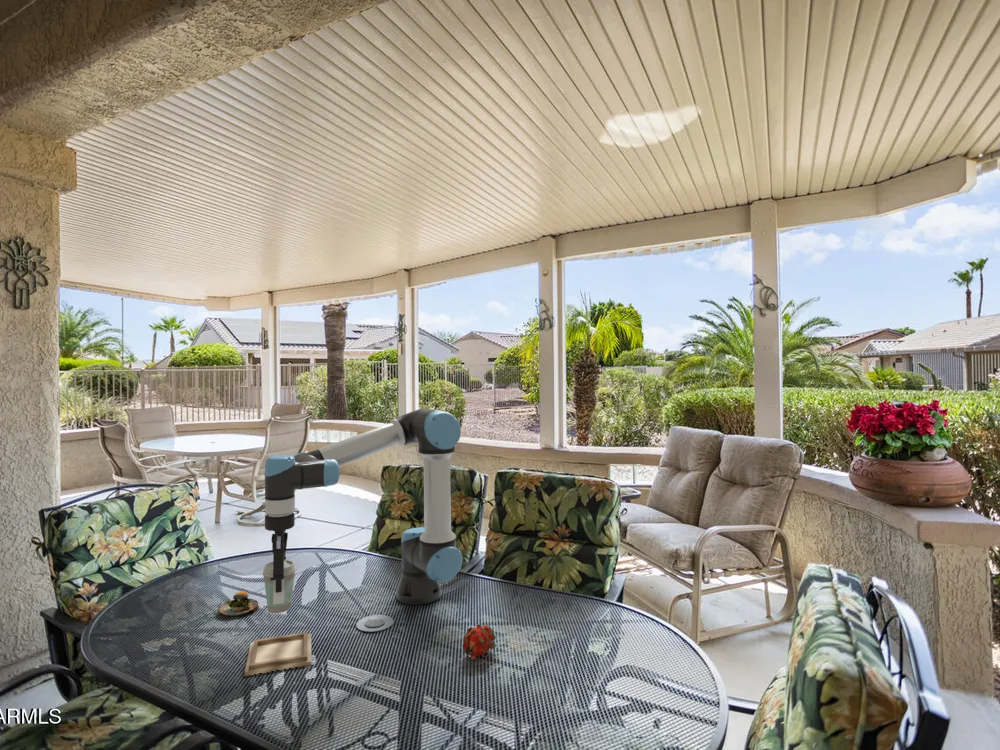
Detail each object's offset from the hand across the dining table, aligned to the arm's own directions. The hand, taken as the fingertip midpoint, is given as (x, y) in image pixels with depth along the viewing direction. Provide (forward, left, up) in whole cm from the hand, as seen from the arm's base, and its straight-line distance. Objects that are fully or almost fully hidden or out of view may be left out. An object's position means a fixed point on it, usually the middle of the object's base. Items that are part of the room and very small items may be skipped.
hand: (279, 596), depth 147 cm
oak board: (0, 0, -16) cm, 16 cm away
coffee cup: (0, 0, -4) cm, 4 cm away
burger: (+14, -34, -17) cm, 40 cm away
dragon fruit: (-51, +18, -16) cm, 57 cm away
